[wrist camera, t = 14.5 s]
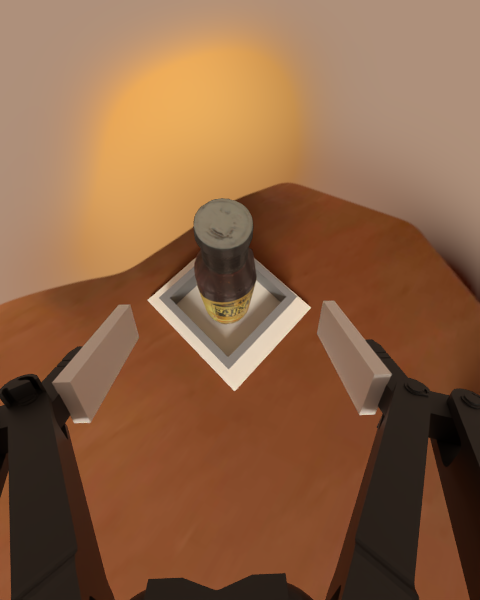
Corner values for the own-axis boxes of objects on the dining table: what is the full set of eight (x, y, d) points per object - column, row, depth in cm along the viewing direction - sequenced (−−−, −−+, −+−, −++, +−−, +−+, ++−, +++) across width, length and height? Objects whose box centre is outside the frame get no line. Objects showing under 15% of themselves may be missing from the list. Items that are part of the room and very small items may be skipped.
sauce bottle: (220, 334, 33) (197, 290, 14) (198, 298, 35) (150, 214, 15) (259, 310, 34) (286, 238, 15) (236, 276, 36) (234, 171, 16)
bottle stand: (150, 302, 36) (137, 292, 31) (225, 236, 39) (223, 218, 34) (234, 390, 32) (234, 394, 28) (308, 309, 35) (319, 301, 31)
